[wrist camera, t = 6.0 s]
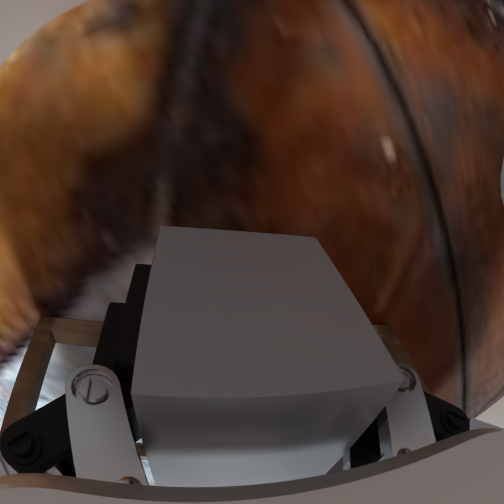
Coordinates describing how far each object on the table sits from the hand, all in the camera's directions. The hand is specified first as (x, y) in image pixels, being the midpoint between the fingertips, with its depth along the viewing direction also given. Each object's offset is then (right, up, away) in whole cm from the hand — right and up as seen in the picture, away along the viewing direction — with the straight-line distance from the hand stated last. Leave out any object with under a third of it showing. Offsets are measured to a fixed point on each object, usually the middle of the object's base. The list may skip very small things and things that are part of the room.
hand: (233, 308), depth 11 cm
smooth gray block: (0, 0, +1) cm, 1 cm away
